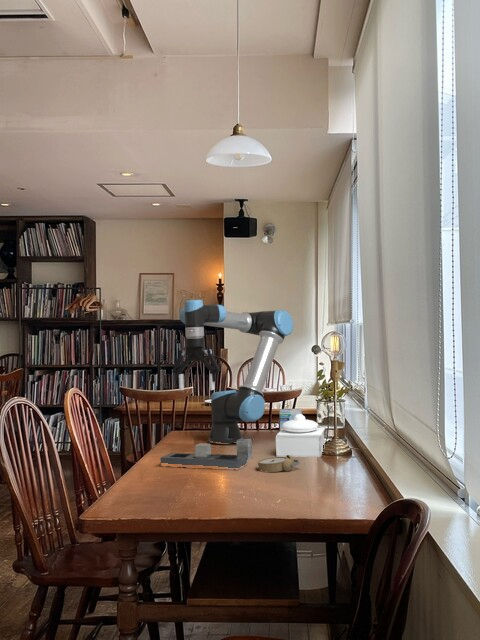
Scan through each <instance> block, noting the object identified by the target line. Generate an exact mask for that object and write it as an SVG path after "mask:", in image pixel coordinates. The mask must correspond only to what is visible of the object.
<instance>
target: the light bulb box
mask: <svg viewBox="0 0 480 640" xmlns="http://www.w3.org/2000/svg"><path fill="white" fill-rule="evenodd" d="M297 414H302V415H303V408H281V409H280V410H279V432H280V431H281V430H282V429H283V428H282V427H281V426H282V424H283V423H285V422H287V421H290V420H294V417H295V416H296V415H297Z"/></svg>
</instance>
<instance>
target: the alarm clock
mask: <svg viewBox="0 0 480 640" xmlns="http://www.w3.org/2000/svg"><path fill="white" fill-rule="evenodd" d="M257 465H258V466H256V467H255V469H258V471H259V470H262V471H267V472H266V473H277V472H282V471H284V472H287V473H289V472H290V471H292V469H293V467H296V466H298V465H300V460H299V459H294V457H292V456H291V455H287V456H286V457H276V456H272V457H271V456H270V457H264V458H262V459H259V460H258V461H257ZM262 471H261V472H262Z"/></svg>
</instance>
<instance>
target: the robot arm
mask: <svg viewBox="0 0 480 640" xmlns="http://www.w3.org/2000/svg"><path fill="white" fill-rule="evenodd" d="M179 319H180V322H182V324H184V325H185V328H184V329H185V338H186V339H185V347H186V349H185V350H184V349H179V350H178V357H177V359H176V361H175V365H174V366H173V368H172V373H174V374H176V380H177V382H178V384H179V385H178V387H179V391H184V390H185V384H184V383H185V381H184V373H183V372H184V370H185V369H186V368H187V366H188V365H189V363H190V362H193V361H197V362H199V361H200V362H202V364H203V365H204V366H205V367H206V368H207V369H208V371H210V373H209V387H210V391H213V390H215V388H216V387H215V383H216V382H217V373H219V372H221V368H220V366H219V364H218V362H217V360H216V358H215V357H214V353H213V349H212V348H208V349H205V338H204V337H205V328H204V327H205V326H208V327H215V328H224V329H230V330H238V331H239V332H241V333H246V334H248V335H249V334H251V335H254V336H259V337H260V339H259V342H258V345H257V347H256V350H255V353H254V354H253V355H254V356H253V359H252V361H251V364H250V366H249V369H248V372H247V374H246V377H245V380H244V383H243V384H242V385H240V386H238V389H237V390H236V389H230V390H223V391H222V390H221V391H216V392H215V391H214V392H212V394H211V396H210V398H211V400H210V406H211V407H210V408H211V428H210V431H209V435H208V441H209V440H210V441H213V442H221V443H234V442H237V440H239V439H243V435H242V433H241V430H240V427H239V421H240V422H241V421H242V422H247V423H249V422H256V421H258V420H260V419H261V418H262V417H263V415H264V413H265V410H266V401H265V398H264V397H265V395H264V393H263V389H264V386H265V384H266V381H267V378H268V375H269V372H270V370H271V367H272V365H273V364H272V363H273V361H274V359H275V357H276V353H277V350H278V346H279V345H281V344H282V343H283V342H284V340H285V337H287V336H289V335H291V334H292V333H293V330H294V320H293V318H292V315H291V314H290V313H289V312H288V311H287V310H282V309H281V310H280V309H277V310H267V311H263V310H262V311H257V312H256V311H255V312H254V311H253V312H247V311H244V312H241V313H239V312H231V311H227V309H226V308H225V306H224V305H222V304H204V303H203V300H202V299H190V300H189V299H187V300H186V301H184V307H183V308H181V310H180V311H179ZM185 355H186V357H185V359H184V356H185ZM205 355H207V357H208V359H209V361H208V359H207V357H205ZM183 359H184V361H183ZM182 361H183V362H182Z"/></svg>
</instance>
